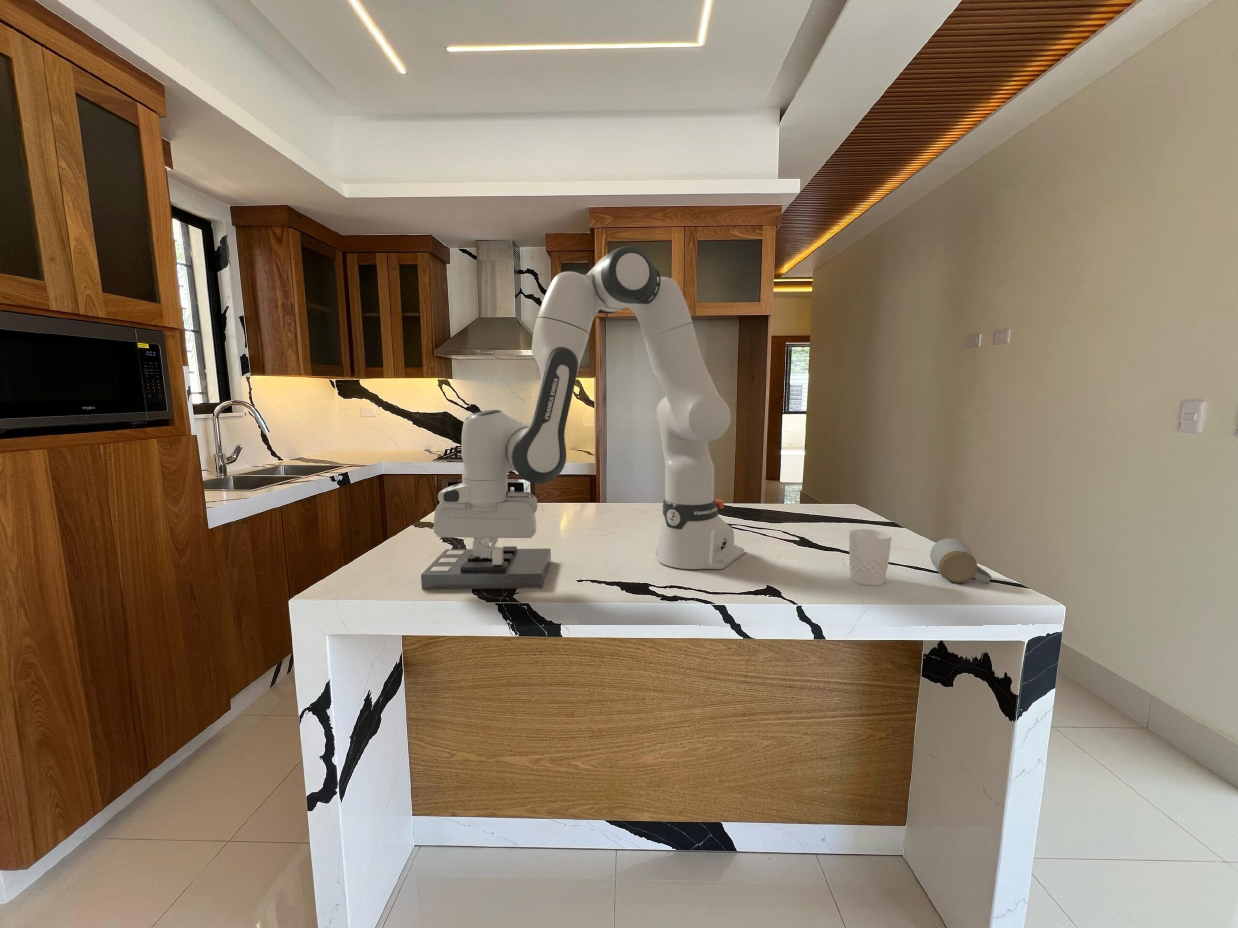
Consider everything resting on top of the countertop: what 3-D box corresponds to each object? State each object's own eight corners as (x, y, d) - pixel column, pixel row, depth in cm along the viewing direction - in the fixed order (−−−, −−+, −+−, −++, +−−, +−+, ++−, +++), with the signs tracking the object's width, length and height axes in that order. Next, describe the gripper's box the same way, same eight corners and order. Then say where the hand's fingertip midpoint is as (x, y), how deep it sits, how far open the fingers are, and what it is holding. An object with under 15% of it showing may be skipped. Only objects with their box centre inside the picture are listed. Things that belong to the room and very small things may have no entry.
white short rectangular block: (489, 545, 125) (488, 532, 124) (487, 548, 123) (486, 534, 122) (481, 545, 125) (480, 532, 124) (479, 548, 122) (478, 534, 122)
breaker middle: (483, 553, 119) (483, 538, 119) (481, 556, 117) (481, 541, 117) (475, 553, 119) (475, 538, 119) (473, 556, 117) (472, 541, 117)
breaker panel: (550, 561, 127) (550, 544, 127) (542, 587, 111) (541, 568, 110) (446, 561, 127) (445, 545, 126) (421, 589, 110) (420, 569, 110)
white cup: (877, 590, 109) (881, 541, 108) (839, 579, 115) (842, 533, 114) (894, 580, 115) (898, 534, 113) (857, 571, 120) (860, 526, 119)
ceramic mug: (937, 582, 113) (940, 546, 112) (928, 570, 121) (931, 536, 120) (996, 589, 110) (1001, 552, 109) (983, 575, 118) (987, 541, 117)
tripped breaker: (503, 561, 114) (502, 546, 113) (501, 564, 112) (500, 549, 111) (494, 561, 114) (494, 546, 113) (492, 564, 112) (491, 549, 111)
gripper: (539, 489, 114) (539, 553, 116) (439, 487, 114) (441, 552, 116) (535, 494, 108) (535, 563, 110) (429, 493, 107) (432, 562, 109)
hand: (486, 557), depth 113 cm, fingers closed
